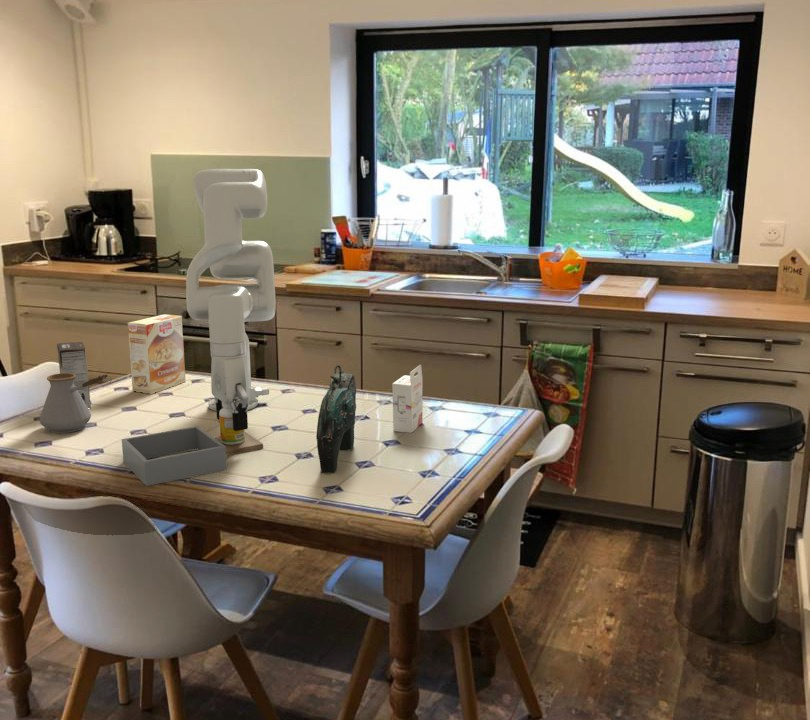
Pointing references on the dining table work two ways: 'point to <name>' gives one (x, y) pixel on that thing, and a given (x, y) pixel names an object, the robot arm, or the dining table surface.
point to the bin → (173, 466)
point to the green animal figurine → (336, 420)
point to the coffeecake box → (156, 353)
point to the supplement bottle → (229, 426)
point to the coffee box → (75, 365)
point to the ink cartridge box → (408, 402)
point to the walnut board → (242, 445)
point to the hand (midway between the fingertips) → (232, 424)
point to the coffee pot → (66, 404)
